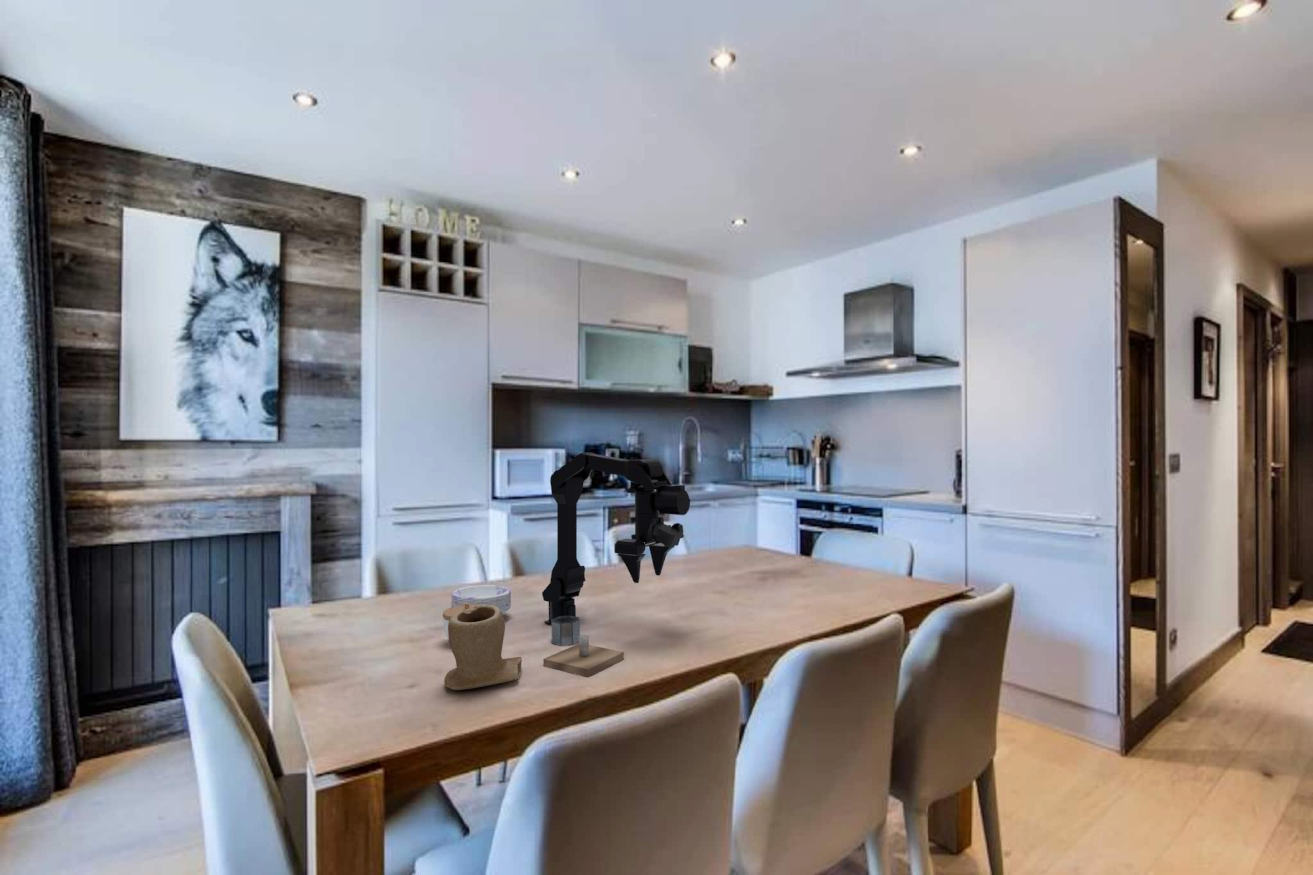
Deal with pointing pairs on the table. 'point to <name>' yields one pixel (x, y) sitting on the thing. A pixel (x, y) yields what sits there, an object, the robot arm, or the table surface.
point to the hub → (565, 630)
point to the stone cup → (479, 649)
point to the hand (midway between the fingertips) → (647, 578)
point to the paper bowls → (483, 596)
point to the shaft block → (583, 658)
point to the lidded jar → (451, 611)
